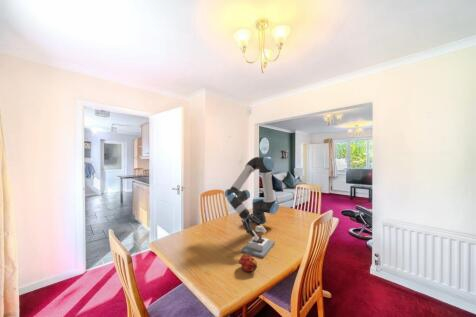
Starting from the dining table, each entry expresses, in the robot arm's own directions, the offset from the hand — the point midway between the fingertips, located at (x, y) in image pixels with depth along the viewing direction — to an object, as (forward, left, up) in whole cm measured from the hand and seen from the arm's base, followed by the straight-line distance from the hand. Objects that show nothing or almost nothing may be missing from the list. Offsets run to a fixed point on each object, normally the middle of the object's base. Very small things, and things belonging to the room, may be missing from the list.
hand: (261, 236), depth 129 cm
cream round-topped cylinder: (0, -2, -7) cm, 8 cm away
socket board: (0, -2, -9) cm, 9 cm away
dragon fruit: (+26, +3, -9) cm, 28 cm away
